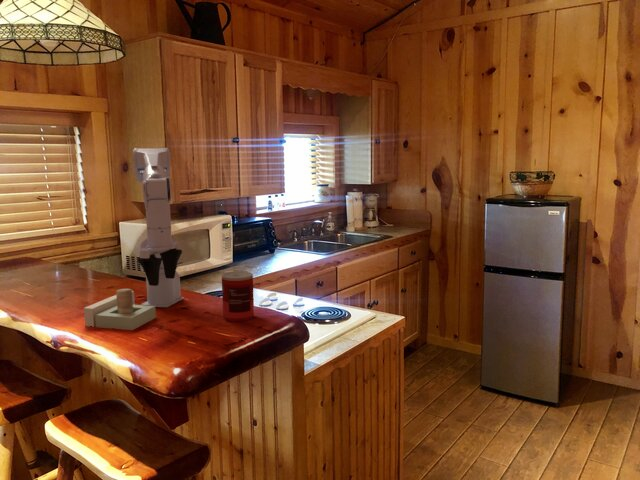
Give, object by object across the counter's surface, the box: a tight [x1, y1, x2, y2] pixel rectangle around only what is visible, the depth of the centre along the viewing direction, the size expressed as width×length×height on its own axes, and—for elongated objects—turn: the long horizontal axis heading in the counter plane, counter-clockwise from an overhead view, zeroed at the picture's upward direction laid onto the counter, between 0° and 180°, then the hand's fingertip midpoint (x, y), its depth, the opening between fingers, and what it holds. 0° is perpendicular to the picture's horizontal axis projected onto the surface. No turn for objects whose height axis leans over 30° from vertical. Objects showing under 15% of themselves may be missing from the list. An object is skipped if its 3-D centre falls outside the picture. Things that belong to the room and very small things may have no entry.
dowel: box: [115, 288, 133, 314], centre depth 132 cm, size 4×4×8 cm
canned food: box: [221, 270, 255, 322], centre depth 135 cm, size 8×8×11 cm
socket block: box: [95, 304, 157, 331], centre depth 133 cm, size 10×10×3 cm
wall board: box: [83, 290, 136, 328], centre depth 138 cm, size 17×2×4 cm, turn 165°
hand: (162, 281), depth 134 cm, fingers open, 7 cm apart
